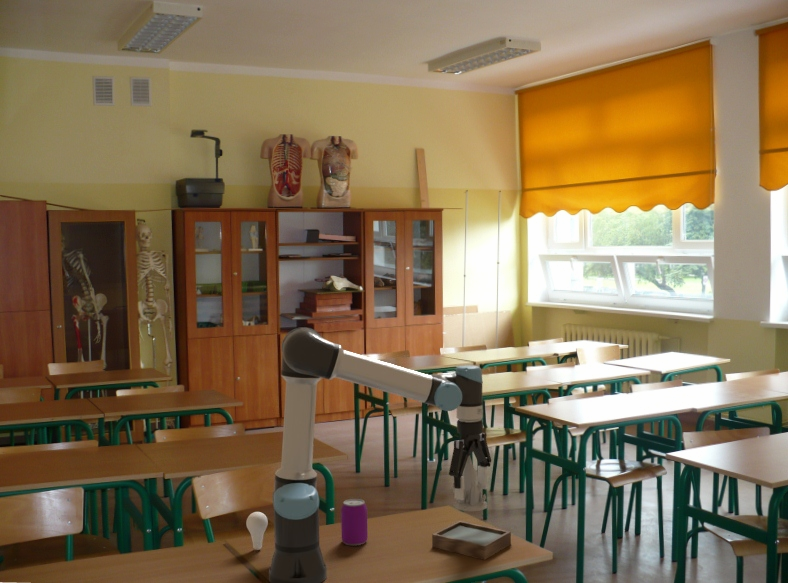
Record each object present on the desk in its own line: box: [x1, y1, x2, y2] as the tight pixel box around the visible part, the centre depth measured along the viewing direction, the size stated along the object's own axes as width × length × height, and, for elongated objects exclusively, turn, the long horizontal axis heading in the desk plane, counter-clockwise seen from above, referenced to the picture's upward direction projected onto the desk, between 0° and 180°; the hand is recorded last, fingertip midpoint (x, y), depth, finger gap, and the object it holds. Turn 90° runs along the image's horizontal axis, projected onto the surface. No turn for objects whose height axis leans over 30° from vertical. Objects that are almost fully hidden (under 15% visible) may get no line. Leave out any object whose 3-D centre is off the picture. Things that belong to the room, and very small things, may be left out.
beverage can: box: [340, 498, 369, 547], centre depth 233 cm, size 8×8×12 cm
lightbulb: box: [245, 511, 269, 551], centre depth 228 cm, size 6×6×11 cm
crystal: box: [452, 455, 488, 512], centre depth 228 cm, size 10×13×15 cm
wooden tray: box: [431, 520, 512, 561], centre depth 229 cm, size 18×15×4 cm
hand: (471, 493), depth 228 cm, fingers closed on crystal, 12 cm apart
